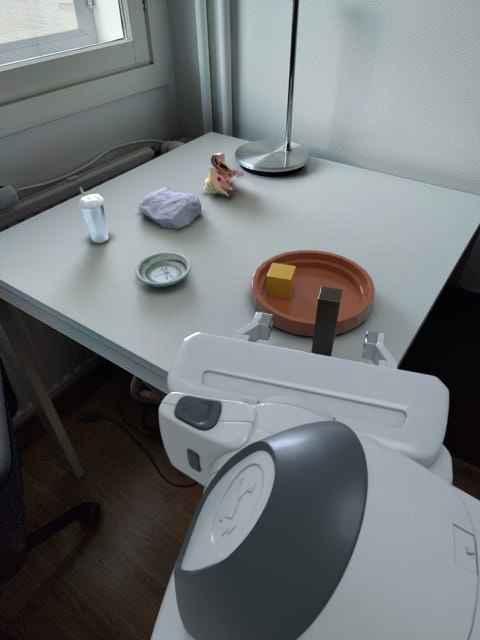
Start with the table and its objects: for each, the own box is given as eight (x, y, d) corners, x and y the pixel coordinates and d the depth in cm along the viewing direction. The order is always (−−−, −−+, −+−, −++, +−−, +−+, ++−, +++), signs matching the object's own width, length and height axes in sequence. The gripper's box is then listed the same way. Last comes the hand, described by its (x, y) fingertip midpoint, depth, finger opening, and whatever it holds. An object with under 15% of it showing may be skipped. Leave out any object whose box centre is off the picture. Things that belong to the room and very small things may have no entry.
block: (294, 285, 79) (296, 265, 76) (289, 299, 76) (291, 279, 73) (271, 281, 80) (272, 262, 77) (266, 295, 77) (266, 276, 74)
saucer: (127, 275, 83) (125, 264, 81) (173, 256, 87) (172, 245, 85) (154, 302, 77) (152, 290, 75) (202, 280, 81) (201, 269, 80)
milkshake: (102, 229, 95) (90, 183, 88) (116, 238, 92) (106, 192, 85) (82, 237, 93) (69, 191, 86) (96, 247, 90) (84, 200, 83)
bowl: (375, 274, 82) (378, 259, 80) (365, 349, 68) (369, 333, 66) (267, 258, 86) (268, 243, 84) (237, 326, 72) (237, 310, 70)
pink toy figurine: (211, 206, 103) (188, 168, 102) (222, 206, 112) (201, 172, 112) (246, 182, 100) (222, 144, 99) (253, 185, 110) (232, 150, 109)
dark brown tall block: (333, 365, 66) (347, 287, 56) (330, 384, 63) (343, 305, 54) (308, 360, 66) (317, 282, 57) (303, 379, 64) (313, 300, 54)
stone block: (179, 239, 95) (206, 210, 100) (172, 220, 91) (201, 191, 96) (136, 225, 100) (164, 199, 105) (129, 207, 96) (158, 181, 101)
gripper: (470, 481, 26) (457, 321, 35) (135, 403, 30) (206, 280, 40) (440, 532, 30) (435, 375, 40) (150, 456, 34) (210, 333, 44)
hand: (318, 327), depth 40 cm, fingers open, 8 cm apart
